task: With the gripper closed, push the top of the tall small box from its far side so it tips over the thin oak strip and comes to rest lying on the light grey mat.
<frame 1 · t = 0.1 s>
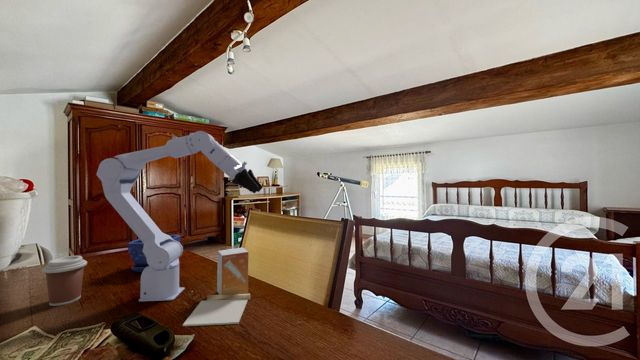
hand: (258, 190, 79), 32 cm above the table, tool tilted 50°, fingers open, 7 cm apart
oak strip: (228, 300, 73), on the table
mat: (218, 312, 67), on the table
flower pot: (155, 268, 100), on the table
coffee cup: (65, 301, 73), on the table
small box: (232, 293, 78), on the table
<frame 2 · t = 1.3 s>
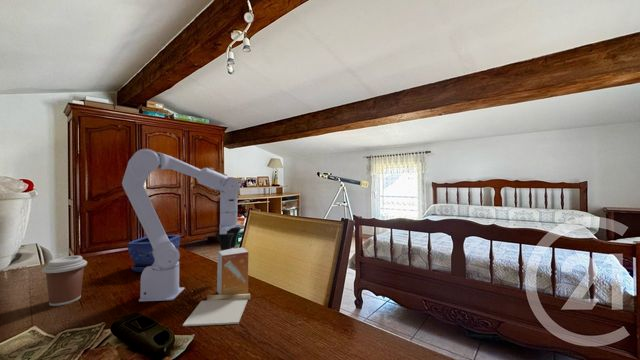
hand: (228, 250, 88), 10 cm above the table, tool pointing down, fingers open, 7 cm apart
nothing on the table moved.
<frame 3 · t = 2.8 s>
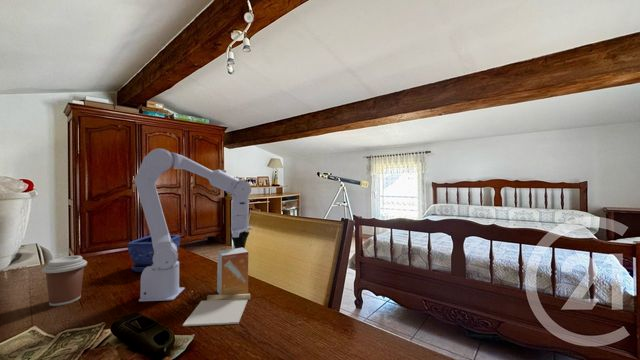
hand: (240, 253, 88), 9 cm above the table, tool pointing down, fingers closed
nothing on the table moved.
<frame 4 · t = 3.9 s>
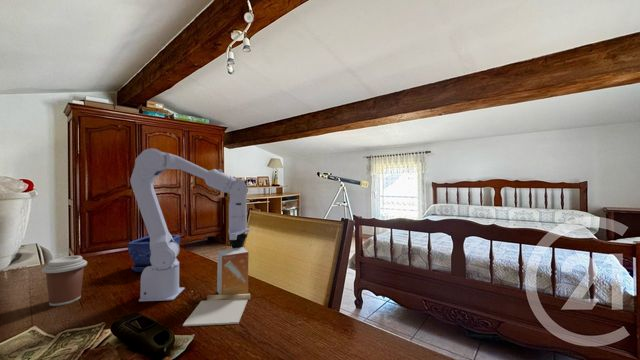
hand: (237, 256, 84), 9 cm above the table, tool pointing down, fingers closed
small box: (232, 293, 78), on the table, touching gripper
everything else where it was.
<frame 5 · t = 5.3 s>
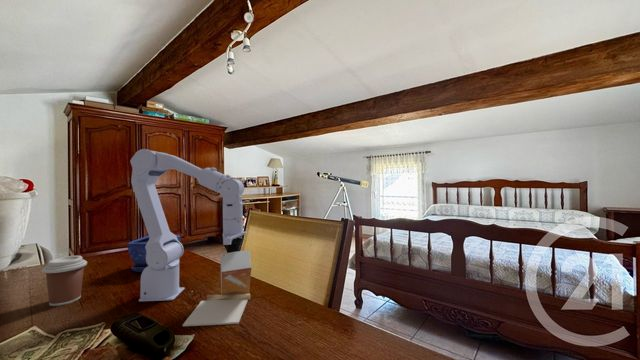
hand: (233, 262, 77), 10 cm above the table, tool pointing down, fingers closed, pressing on small box
small box: (234, 286, 78), point 2 cm above the table, touching gripper, oak strip
everything else where it was.
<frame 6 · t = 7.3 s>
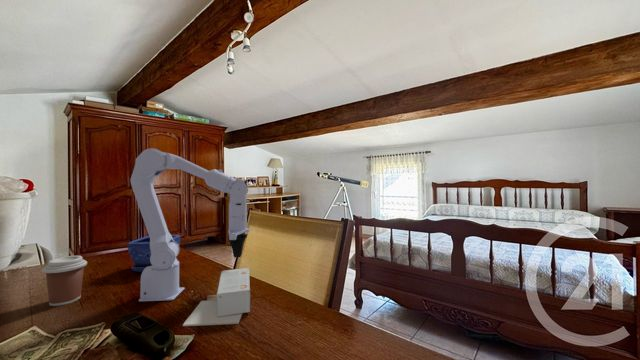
hand: (237, 256, 84), 9 cm above the table, tool pointing down, fingers closed
small box: (235, 278, 77), point 5 cm above the table, touching mat, oak strip
everything else where it was.
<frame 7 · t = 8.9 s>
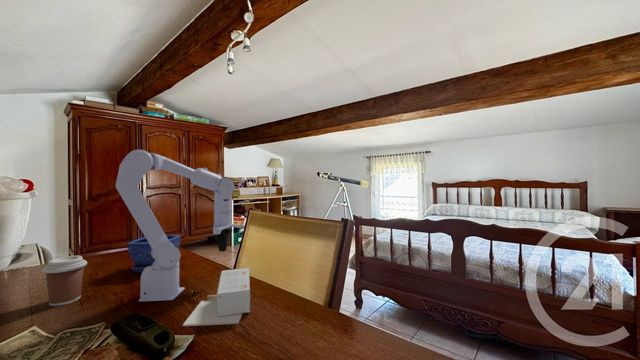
hand: (222, 250, 88), 10 cm above the table, tool pointing down, fingers closed
nothing on the table moved.
at the end: small box tilted 96°; small box inside the target area (10.9 cm from its centre), point 5.0 cm above the table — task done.
